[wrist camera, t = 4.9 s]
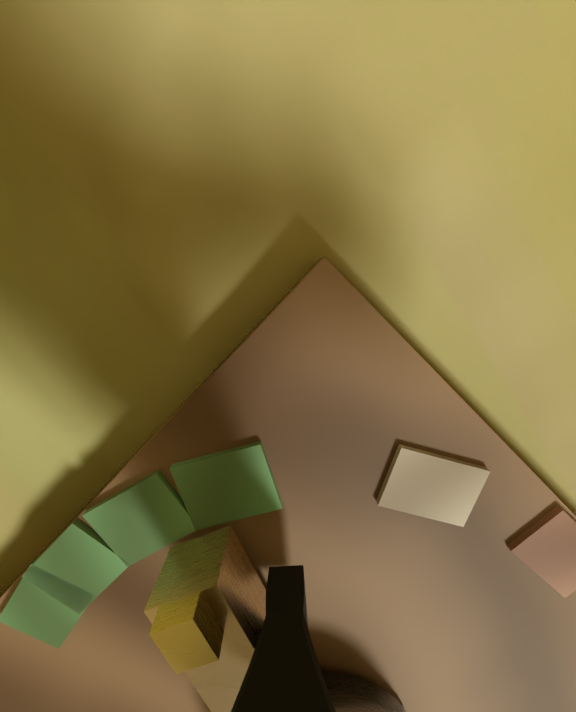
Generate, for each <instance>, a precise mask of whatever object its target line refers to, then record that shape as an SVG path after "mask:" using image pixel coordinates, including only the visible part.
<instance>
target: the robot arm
mask: <svg viewBox="0 0 576 712" xmlns="http://www.w3.org/2000/svg"><path fill="white" fill-rule="evenodd" d="M231 712H336V711H335V708H334V705H333V702H332V700H331V697H330V694H329V692H328V689H327V686H326V683H325V681H324V678H323V675H322V672H321V669H320V666H319V663H318V660H317V657H316V653H315V650H314V647H313V644H312V640H311V637H310V634H309V631H308V619H307V606H306V593H305V580H304V567H303V565H295V566H277V567H269V572H268V579H267V588H266V616H265V620H264V623H263V626H262V629H261V632H260V635H259V638H258V641H257V644H256V647H255V650H254V653H253V656H252V659H251V661H250V664H249V667H248V669H247V672H246V674H245V677H244V679H243V682H242V685H241V687H240V690H239V692H238V695H237V697H236V700H235V702H234V705H233V708H232V710H231Z"/></svg>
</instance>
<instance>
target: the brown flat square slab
mask: <svg viewBox="0 0 576 712" xmlns="http://www.w3.org/2000/svg"><path fill="white" fill-rule="evenodd" d="M230 525H231V527H232V529H233V531H234V533H235V535H236V536H237V538H238V540H239V542H240V544H241V545H242V547H243V549H244V551H245V553H246V555H247V556H248V558H249V560H250V562H251V564H252V566H253V567H254V569H255V571H256V573H257V575H258V577H259V578H260V580H261V582H262V584H263V586H264V587H265V589H266V588H267V579H268V572H269V567H277V566H295V565H303V567H304V580H305V593H306V606H307V619H308V631H309V634H310V637H311V640H312V644H313V647H314V650H315V653H316V657H317V660H318V663H319V666H320V669H321V672H325V673H340V674H347V675H351V676H355V677H359V678H362V679H365V680H368V681H370V682H372V683H374V684H376V685H378V686H380V687H382V688H383V689H385V690H386V691H388V692H389V693H390V694H391V695H392V696H394V697H395V698H396V699H397V700H398V702H399V703H400V704H401V705H402V707H403V708H404V710H405V712H576V516H575V515H574V514H573V513H572V512H571V511H570V510H569V508H568V507H567V506H566V505H565V504H564V503H563V502H562V501H561V500H560V499H559V498H558V497H557V496H556V495H555V494H554V493H553V492H552V491H551V490H550V489H549V488H548V487H547V486H546V485H545V484H544V483H543V482H542V481H541V480H540V479H539V478H538V477H537V475H536V474H535V473H534V472H533V471H532V470H531V469H530V468H529V467H528V466H527V465H526V464H525V463H524V462H523V461H522V460H521V459H520V458H519V457H518V456H517V455H516V454H515V453H514V452H513V451H512V450H511V449H510V448H509V447H508V446H507V445H506V443H505V442H504V441H503V440H502V439H501V438H500V437H499V436H498V435H497V434H496V433H495V432H494V431H493V430H492V429H491V428H490V427H489V426H488V425H487V424H486V423H485V422H484V421H483V420H482V419H481V418H480V417H479V416H478V415H477V414H476V413H475V412H474V410H473V409H472V408H471V407H470V406H469V405H468V404H467V403H466V402H465V401H464V400H463V399H462V398H461V397H460V396H459V395H458V394H457V393H456V392H455V391H454V390H453V389H452V388H451V387H450V386H449V385H448V384H447V383H446V382H445V381H444V380H443V379H442V377H441V376H440V375H439V374H438V373H437V372H436V371H435V370H434V369H433V368H432V367H431V366H430V365H429V364H428V363H427V362H426V361H425V360H424V359H423V358H422V357H421V356H420V355H419V354H418V353H417V352H416V351H415V350H414V349H413V348H412V347H411V346H410V344H409V343H408V342H407V341H406V340H405V339H404V338H403V337H402V336H401V335H400V334H399V333H398V332H397V331H396V330H395V329H394V328H393V327H392V326H391V325H390V324H389V323H388V322H387V321H386V320H385V319H384V318H383V317H382V316H381V315H380V314H379V313H378V311H377V310H376V309H375V308H374V307H373V306H372V305H371V304H370V303H369V302H368V301H367V300H366V299H365V298H364V297H363V296H362V295H361V294H360V293H359V292H358V291H357V290H356V289H355V288H354V287H353V286H352V285H351V284H350V283H349V282H348V281H347V279H346V278H345V277H344V276H343V275H342V274H341V273H340V272H339V271H338V270H337V269H336V268H335V267H334V266H333V265H332V264H331V263H330V262H329V261H328V260H327V259H326V258H322V259H320V260H319V261H318V262H317V263H316V264H315V265H314V267H313V268H312V269H311V270H310V271H309V272H308V273H307V274H306V275H305V276H304V277H303V278H302V279H301V280H300V281H299V282H298V283H297V284H296V285H295V287H294V288H293V289H292V290H291V291H290V292H289V293H288V294H287V295H286V296H285V297H284V298H283V299H282V300H281V301H280V302H279V303H278V304H277V305H276V306H275V308H274V309H273V310H272V311H271V312H270V313H269V314H268V315H267V316H266V317H265V318H264V319H263V320H262V321H261V322H260V323H259V324H258V325H257V326H256V328H255V329H254V330H253V331H252V332H251V333H250V334H249V335H248V336H247V337H246V338H245V339H244V340H243V341H242V342H241V343H240V344H239V345H238V346H237V348H236V349H235V350H234V351H233V352H232V353H231V354H230V355H229V356H228V357H227V358H226V359H225V360H224V361H223V362H222V363H221V364H220V365H219V366H218V367H217V369H216V370H215V371H214V372H213V373H212V374H211V375H210V376H209V377H208V378H207V379H206V380H205V381H204V382H203V383H202V384H201V385H200V386H199V387H198V389H197V390H196V391H195V392H194V393H193V394H192V395H191V396H190V397H189V398H188V399H187V400H186V401H185V402H184V403H183V404H182V405H181V406H180V407H179V409H178V410H177V411H176V412H175V413H174V414H173V415H172V416H171V417H170V418H169V419H168V420H167V421H166V422H165V423H164V424H163V425H162V426H161V427H160V428H159V430H158V431H157V432H156V433H155V434H154V435H153V436H152V437H151V438H150V439H149V440H148V441H147V442H146V443H145V444H144V445H143V446H142V447H141V448H140V450H139V451H138V452H137V453H136V454H135V455H134V456H133V457H132V458H131V459H130V460H129V461H128V462H127V463H126V464H125V465H124V466H123V467H122V468H121V470H120V471H119V472H118V473H117V474H116V475H115V476H114V477H113V478H112V479H111V480H110V481H109V482H108V483H107V484H106V485H105V486H104V487H103V488H102V489H101V491H100V492H99V493H98V494H97V495H96V496H95V497H94V498H93V499H92V500H91V501H90V502H89V503H88V504H87V505H86V506H85V507H84V508H83V509H82V511H81V512H80V513H79V514H78V515H77V516H76V517H75V518H74V519H73V520H72V521H71V522H70V523H69V524H68V525H67V526H66V527H65V528H64V529H63V531H62V532H61V533H60V534H59V535H58V536H57V537H56V538H55V539H54V540H53V541H52V542H51V543H50V544H49V545H48V546H47V547H46V548H45V549H44V550H43V552H42V553H41V554H40V555H39V556H38V557H37V558H36V559H35V560H34V561H33V562H32V563H31V564H30V565H29V566H28V567H27V568H26V569H25V570H24V572H23V573H22V574H21V575H20V576H19V577H18V578H17V579H16V580H15V581H14V582H13V583H12V584H11V585H10V586H9V587H8V588H7V589H6V590H5V592H4V593H3V594H2V595H1V596H0V712H211V711H210V710H209V708H208V707H207V705H206V704H205V702H204V701H203V699H202V698H201V696H200V695H199V693H198V692H197V690H196V689H195V687H194V686H193V684H192V683H191V681H190V680H189V678H188V677H187V675H186V674H185V672H182V673H179V674H175V672H174V671H173V669H172V668H171V666H170V665H169V663H168V662H167V660H166V659H165V657H164V656H163V654H162V653H161V651H160V650H159V649H158V647H157V646H156V644H155V643H154V641H153V640H152V638H151V637H150V635H149V632H150V630H151V627H152V623H151V622H150V620H149V619H148V617H147V616H146V614H145V613H144V609H145V607H146V604H147V602H148V600H149V597H150V595H151V593H152V590H153V588H154V586H155V583H156V581H157V578H158V576H159V574H160V571H161V569H162V567H163V564H164V562H165V559H166V557H167V555H168V552H169V550H170V548H171V547H172V546H175V545H178V544H180V543H183V542H186V541H189V540H191V539H194V538H197V537H200V536H202V535H205V534H208V533H211V532H213V531H216V530H219V529H222V528H224V527H227V526H230Z"/></svg>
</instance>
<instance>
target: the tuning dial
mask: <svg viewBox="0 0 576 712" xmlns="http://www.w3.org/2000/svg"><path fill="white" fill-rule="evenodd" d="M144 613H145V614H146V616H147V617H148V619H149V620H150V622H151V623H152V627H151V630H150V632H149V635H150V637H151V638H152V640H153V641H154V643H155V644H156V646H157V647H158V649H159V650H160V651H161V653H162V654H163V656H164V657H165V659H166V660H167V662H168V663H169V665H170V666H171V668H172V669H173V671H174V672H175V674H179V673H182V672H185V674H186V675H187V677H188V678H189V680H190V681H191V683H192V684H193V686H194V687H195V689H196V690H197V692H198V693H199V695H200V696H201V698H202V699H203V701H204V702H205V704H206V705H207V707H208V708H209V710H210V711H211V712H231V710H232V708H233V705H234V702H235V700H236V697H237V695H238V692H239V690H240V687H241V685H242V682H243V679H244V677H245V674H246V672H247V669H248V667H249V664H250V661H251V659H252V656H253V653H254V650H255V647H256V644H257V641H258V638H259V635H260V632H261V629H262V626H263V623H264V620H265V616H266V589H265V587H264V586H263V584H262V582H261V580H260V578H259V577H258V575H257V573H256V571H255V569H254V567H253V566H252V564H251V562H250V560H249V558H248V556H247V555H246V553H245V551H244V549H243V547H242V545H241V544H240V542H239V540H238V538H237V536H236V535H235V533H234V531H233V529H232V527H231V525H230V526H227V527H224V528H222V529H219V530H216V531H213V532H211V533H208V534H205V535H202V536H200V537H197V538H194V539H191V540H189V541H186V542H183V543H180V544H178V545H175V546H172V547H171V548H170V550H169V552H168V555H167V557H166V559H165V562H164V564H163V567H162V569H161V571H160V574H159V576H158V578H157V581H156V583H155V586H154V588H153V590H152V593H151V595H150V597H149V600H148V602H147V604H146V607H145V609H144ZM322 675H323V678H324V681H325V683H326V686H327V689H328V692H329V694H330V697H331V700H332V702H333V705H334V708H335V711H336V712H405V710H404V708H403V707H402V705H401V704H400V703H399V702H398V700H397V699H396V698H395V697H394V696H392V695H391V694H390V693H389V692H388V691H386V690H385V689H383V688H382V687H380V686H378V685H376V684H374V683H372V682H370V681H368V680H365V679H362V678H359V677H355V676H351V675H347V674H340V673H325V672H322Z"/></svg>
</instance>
